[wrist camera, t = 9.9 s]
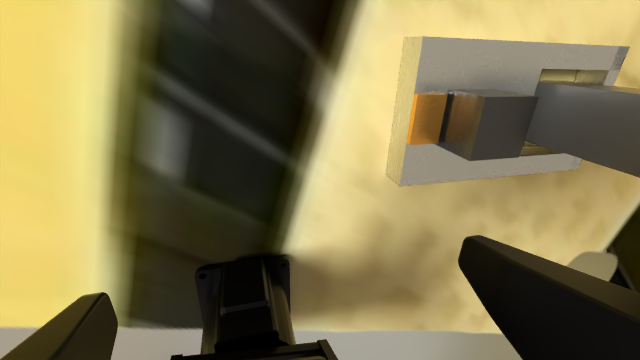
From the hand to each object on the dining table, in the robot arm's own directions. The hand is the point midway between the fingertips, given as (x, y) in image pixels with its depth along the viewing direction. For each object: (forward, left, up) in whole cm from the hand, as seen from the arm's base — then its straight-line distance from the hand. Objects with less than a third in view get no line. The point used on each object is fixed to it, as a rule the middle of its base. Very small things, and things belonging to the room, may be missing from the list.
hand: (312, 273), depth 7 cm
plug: (+2, -20, -12) cm, 24 cm away
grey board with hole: (+1, -16, -12) cm, 20 cm away
